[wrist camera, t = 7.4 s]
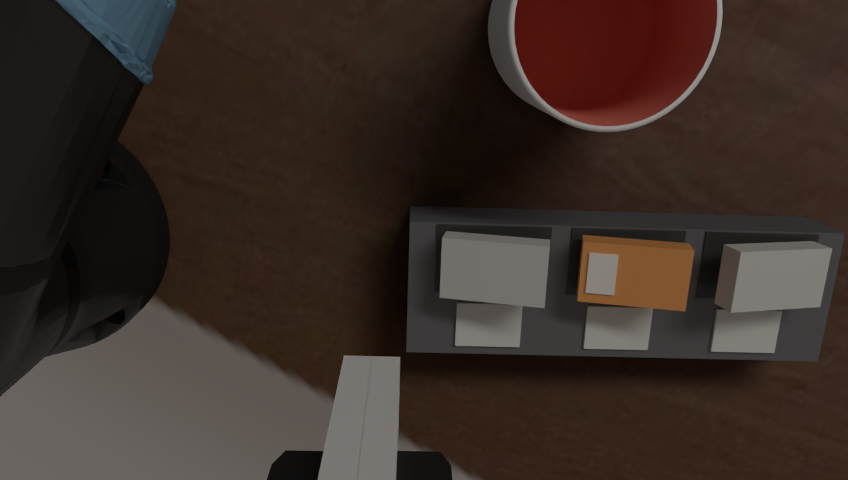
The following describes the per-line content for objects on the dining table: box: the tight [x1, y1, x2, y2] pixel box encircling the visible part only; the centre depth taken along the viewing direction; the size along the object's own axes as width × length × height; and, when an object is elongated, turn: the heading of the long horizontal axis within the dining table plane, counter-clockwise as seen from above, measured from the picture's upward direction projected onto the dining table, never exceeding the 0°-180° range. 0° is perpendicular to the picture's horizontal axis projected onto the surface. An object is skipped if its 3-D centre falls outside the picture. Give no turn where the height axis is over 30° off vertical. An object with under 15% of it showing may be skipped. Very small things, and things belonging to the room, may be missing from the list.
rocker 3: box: [714, 241, 832, 313], centre depth 40 cm, size 6×4×2 cm, turn 89°
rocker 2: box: [576, 235, 694, 311], centre depth 39 cm, size 6×4×2 cm, turn 88°
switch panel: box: [406, 206, 845, 361], centre depth 44 cm, size 26×8×4 cm, turn 88°
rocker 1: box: [440, 231, 550, 308], centre depth 39 cm, size 6×4×2 cm, turn 88°
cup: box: [488, 0, 722, 132], centre depth 36 cm, size 10×10×10 cm
